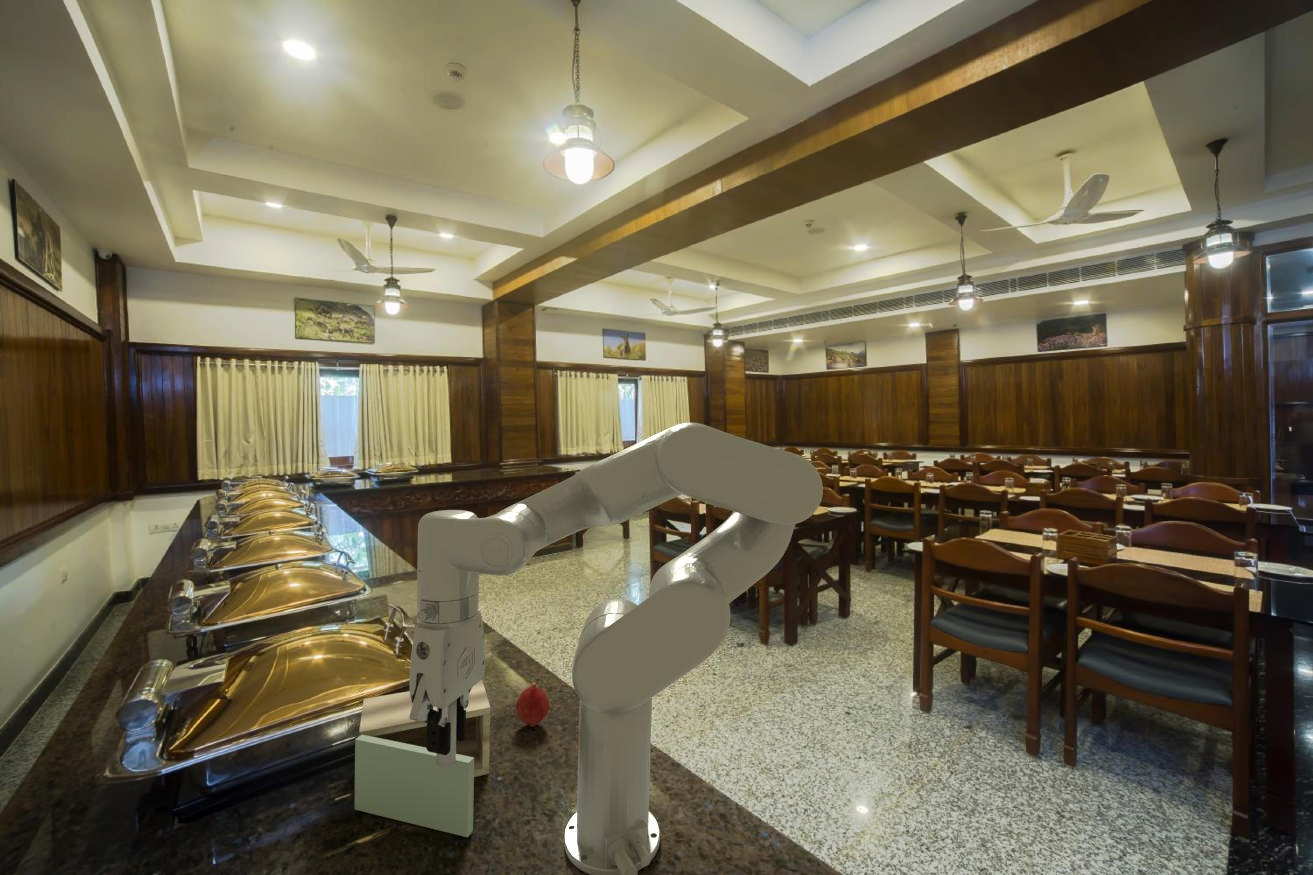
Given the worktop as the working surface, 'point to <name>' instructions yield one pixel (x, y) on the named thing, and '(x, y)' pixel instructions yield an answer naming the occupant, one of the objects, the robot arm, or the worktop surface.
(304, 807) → the worktop surface
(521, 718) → the onion
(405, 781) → the cupboard door
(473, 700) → the cupboard
